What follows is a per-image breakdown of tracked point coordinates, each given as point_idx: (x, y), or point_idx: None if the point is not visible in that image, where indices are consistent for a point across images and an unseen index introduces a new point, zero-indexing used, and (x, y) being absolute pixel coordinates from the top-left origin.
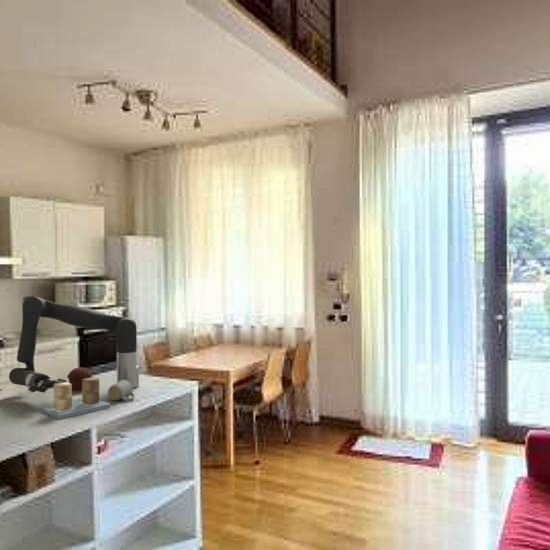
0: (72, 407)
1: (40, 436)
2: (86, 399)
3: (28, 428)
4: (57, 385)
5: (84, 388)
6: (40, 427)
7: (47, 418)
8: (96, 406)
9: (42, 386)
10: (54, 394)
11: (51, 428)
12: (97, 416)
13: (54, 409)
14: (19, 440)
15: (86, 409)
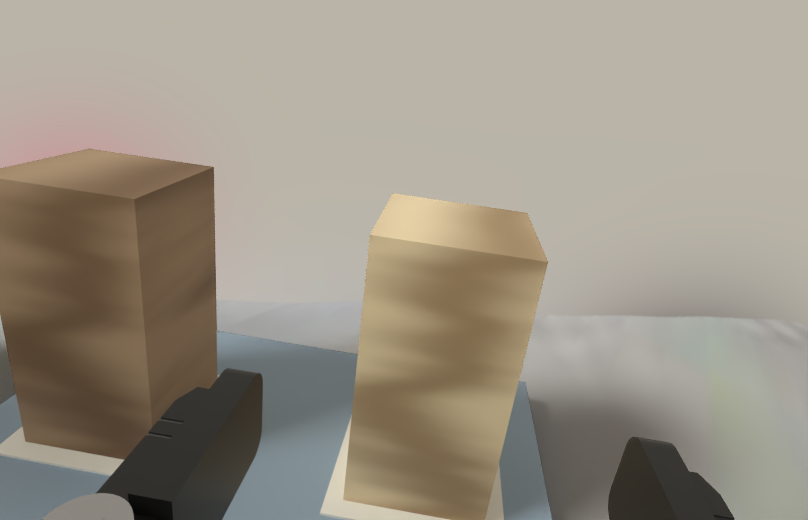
0: (332, 437)
1: (669, 319)
2: (201, 362)
3: (735, 415)
4: (532, 227)
5: (175, 284)
6: (659, 383)
7: (584, 474)
8: (222, 338)
9: (689, 506)
10: (516, 376)
11: (605, 343)
12: (331, 308)
13: (490, 506)
14: (765, 340)
15: (311, 348)
